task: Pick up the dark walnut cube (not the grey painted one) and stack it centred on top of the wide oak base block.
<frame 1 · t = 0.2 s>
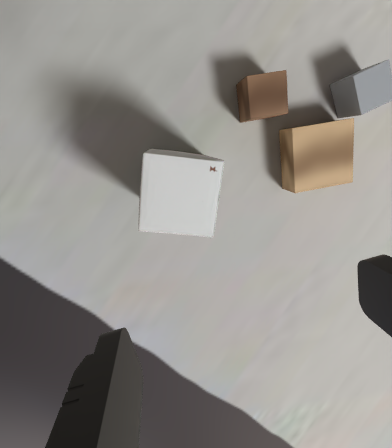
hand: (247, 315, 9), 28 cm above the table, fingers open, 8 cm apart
supplement box: (174, 178, 35), on the table
grey painted cube: (348, 94, 35), on the table
walnut cube: (254, 101, 34), on the table
oak base block: (307, 155, 37), on the table
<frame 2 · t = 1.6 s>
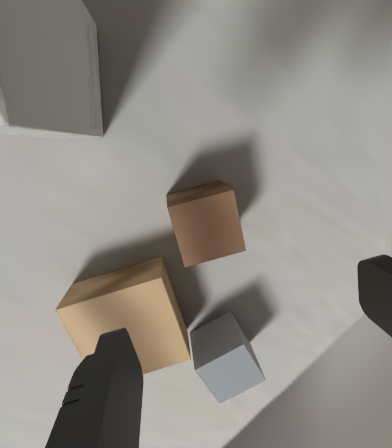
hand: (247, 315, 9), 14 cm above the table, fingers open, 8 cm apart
supplement box: (47, 80, 18), on the table
grey painted cube: (220, 337, 26), on the table
walnut cube: (199, 213, 22), on the table
oak base block: (133, 305, 24), on the table
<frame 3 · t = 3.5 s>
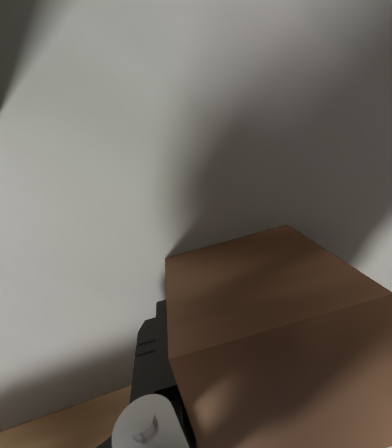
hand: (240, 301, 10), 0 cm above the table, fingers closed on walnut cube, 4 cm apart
walnut cube: (238, 294, 10), on the table, touching gripper
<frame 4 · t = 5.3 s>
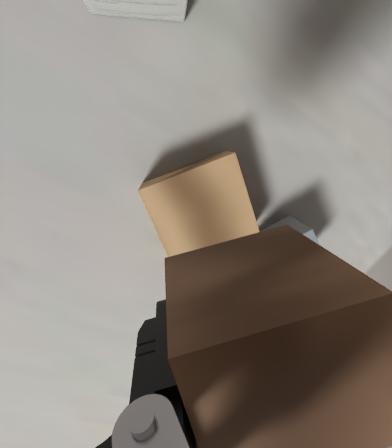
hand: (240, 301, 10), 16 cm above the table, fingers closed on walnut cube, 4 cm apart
grey painted cube: (277, 243, 27), on the table
walnut cube: (238, 294, 10), point 16 cm above the table, touching gripper
oak base block: (198, 206, 25), on the table
when the fingers open (5 cm above the table, at t = 7.6 s): walnut cube drops 1 cm, resting on oak base block.
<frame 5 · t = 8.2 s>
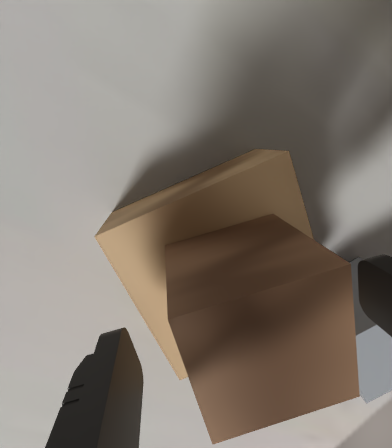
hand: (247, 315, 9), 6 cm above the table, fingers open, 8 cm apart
grey painted cube: (336, 300, 17), on the table
walnut cube: (231, 277, 11), point 4 cm above the table, touching oak base block
oak base block: (211, 244, 15), on the table, touching walnut cube
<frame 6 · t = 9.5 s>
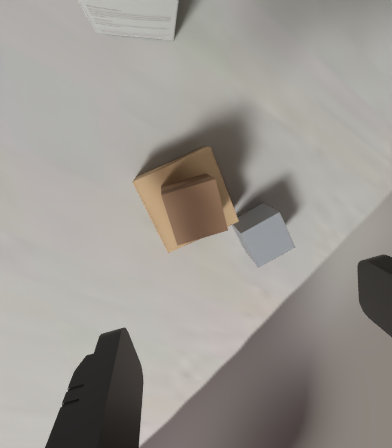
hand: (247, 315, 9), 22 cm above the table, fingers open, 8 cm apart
grey painted cube: (253, 227, 32), on the table
walnut cube: (189, 201, 26), point 4 cm above the table, touching oak base block
oak base block: (184, 195, 30), on the table, touching walnut cube
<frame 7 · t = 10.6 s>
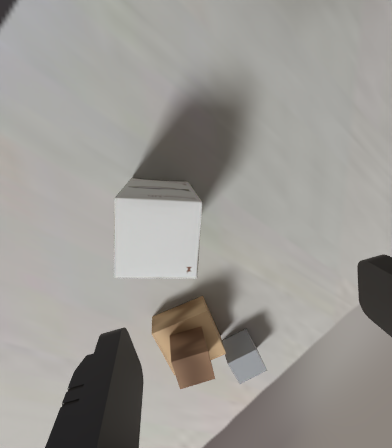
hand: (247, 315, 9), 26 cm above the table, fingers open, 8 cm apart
supplement box: (158, 206, 34), on the table
grey painted cube: (238, 344, 42), on the table
walnut cube: (189, 343, 36), point 4 cm above the table, touching oak base block
oak base block: (187, 325, 40), on the table, touching walnut cube
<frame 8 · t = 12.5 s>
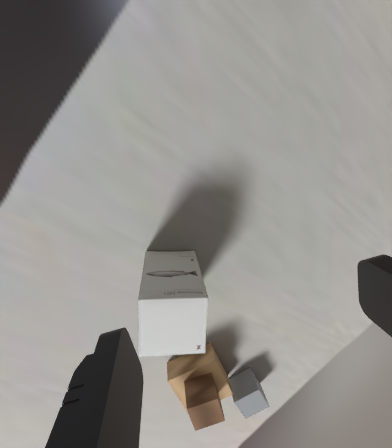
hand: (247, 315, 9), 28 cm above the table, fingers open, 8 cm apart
supplement box: (170, 271, 39), on the table
grey painted cube: (243, 380, 47), on the table
walnut cube: (201, 387, 41), point 4 cm above the table
oak base block: (198, 367, 45), on the table
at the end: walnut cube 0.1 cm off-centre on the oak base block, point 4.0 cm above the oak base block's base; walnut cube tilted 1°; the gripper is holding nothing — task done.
